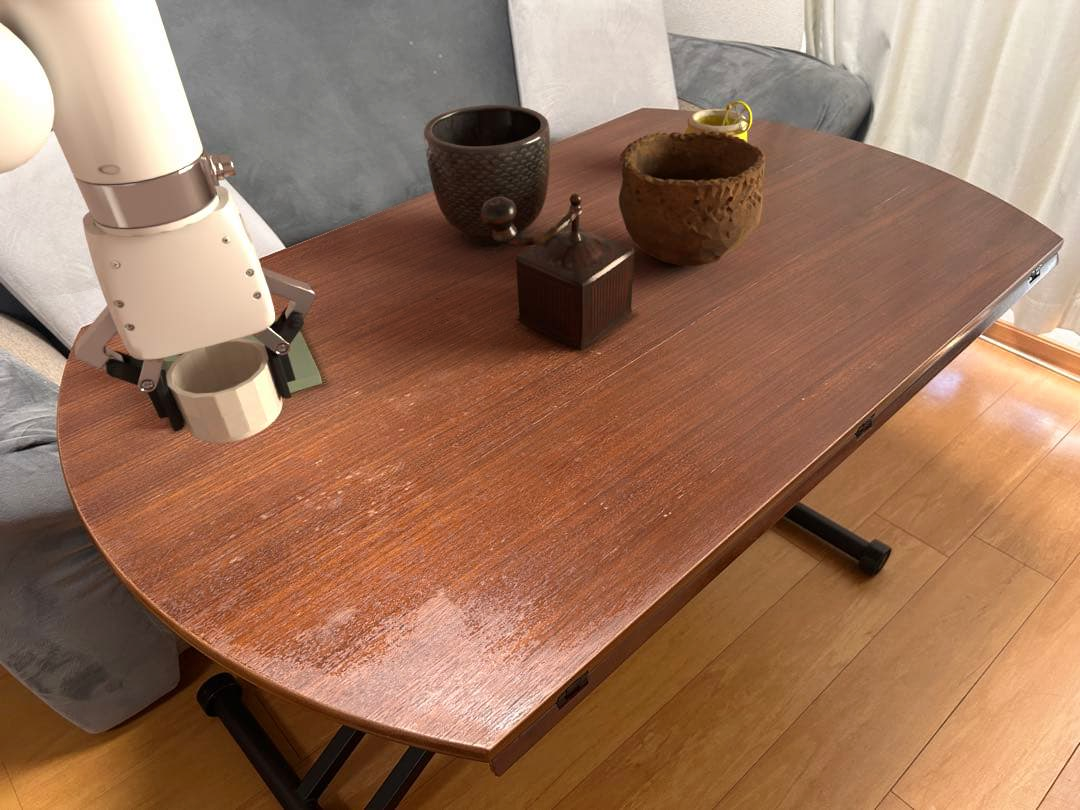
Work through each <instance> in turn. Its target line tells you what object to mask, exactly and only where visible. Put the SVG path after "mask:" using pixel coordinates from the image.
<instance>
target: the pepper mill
mask: <svg viewBox="0 0 1080 810" xmlns="http://www.w3.org/2000/svg"><path fill="white" fill-rule="evenodd" d="M569 202H570V205H569V208H568V212H567V213H566V214H565V216H564V217H563V218H561V220H560V221H559V222H558V223H556V224H555V225H554V226H553V227H551V228H550V229H549V230H546V231H545V232H543V233H541V234H539V235H536V236H532V237H523V236H521V237H519V236H516V234H517V229H516V227H515V226H514V225H513V224H512V221H513V220H514V218H515V215H516V206H515V204H514V202H513V201H512V200H510V199H507V198H505V197H493V198H491V199H489V200H488V201H486V202H485V203H484V205H483V208H482V210H481V214H480V216H481V219H482V221H483V222H484V223H485V224H487V225H488V226H489V227H491V228H492V229H493V234H492V237H493V238H494V239H495V241H498V242H507V241H508V242H510V243H509V244H515V245H518V246H522V247H529V248H527V249H524V250H523V251H521V252H520V253H518V254H516V255H515V259H514V260H515V270H516V271H515V272H516V287H517V301H518V302H517V303H518V304H517V305H518V318H517V321H518V322H519V323H521V324H523V325H524V326H526V328H528V329H530V330H532V331H534V332H536V333H538V334H540V335H542V336H544V337H546V338H549V339H550V340H553V341H555V342H557V343H559V344H561V345H564V346H566V347H567V346H568V347H570V348H573V349H575V350H579V351H583V350H585V349H587V348H588V347H591V346H593V345H594V344H595V343H597V342H598V341H599V340H600V339H602V338H604V337H605V336H607V334H609V332H611V331H613V330H614V329H615V328H617V326H619V325H620V324H621V323H622V322H623V321H624V320H626V319H627V318H628V317H629V316H630V315H632V310H633V309H632V300H633V299H632V298H633V283H634V260H635V249H634V248H633V247H631V246H628V245H626V244H623V243H621V242H618V241H615V240H613V239H609V238H606V237H603V236H601V235H598V234H596V233H593V232H591V231H588V230H585V229H582V228H580V214H581V213H582V212H583V208H582V205H581V203H582V197H581V195H580V194H579V193H577V192H576V193H572V194H571V195H570V197H569Z"/></svg>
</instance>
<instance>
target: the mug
mask: <svg viewBox="0 0 1080 810" xmlns="http://www.w3.org/2000/svg"><path fill="white" fill-rule="evenodd" d="M738 105H741V106H743V108H742V110H741V111H740V112H739V107H738ZM732 106H733V108H734V110H731V109H732ZM746 111H747V114H748V119H747V117H745V116H744V113H745V112H746ZM686 122H687V127H686V129H685V130H684V134H687V133H701V132H702V131H709V132H718V133H724V132H725V133H726V134H727V135H732V134H733V136H734V137H739V138H740V139H744V140H745V141H746V142H748V131H749V130H750V128H751V126H752V124H753V112H752V111H751V108H750V106H749V105H748V103H746V102H744V101H741V100H735V101H732V102H730V103H728V104H727V105H726V108H725V109H724V108H707V109H703V110H699V111H696V112H694V113H692V115H690V116H689V117H688V118H687V121H686Z"/></svg>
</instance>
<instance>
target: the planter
mask: <svg viewBox="0 0 1080 810" xmlns="http://www.w3.org/2000/svg"><path fill="white" fill-rule="evenodd" d="M550 128H551V127H550V124H549V120H548V119H547V118H546V117H545V116H544V115H543V114H542V113H541V112H538V111H536V110H534V109H530V108H527V107H523V106H517V105H511V104H509V105H508V104H480V105H472V106H471V105H470V106H466V107H460V108H455V109H452V110H450V111H446V112H443V113H440V114H439V115H437V116H435V117H433V118H431V120H429V121H428V122H427V123H426V125H425V126H424V128H423V142H424V147H425V155H426V162H427V167H428V168H427V169H428V172H429V178H430V181H431V185H432V189H433V194H434V197H435V199H436V202H437V205H438V208H439V209H440V211H441V213H442V215H443V216H444V218H445V219H446V221H447V222H448V223H449V224H450V225H451V226H452V227H453V228H455V230H457V231H459V232H460V233H462V234H463V235H464V237H465V238H466V239H467V240H469V241H470V242H471V243H473V244H476V245H479V246H486V247H497V246H503V245H508V244H511V243H510V242H508V241H507V242H498V241H495V239H494V238H493V237H492V234H493V229H492V228H491V227H489V226H488V225H487V224H485V223H484V222H483V221H482V219H481V216H480V214H481V210H482V208H483V205H484V203H485V202H486V201H488V200H489V199H491V198H493V197H505V198H507V199H510V200H512V201H513V202H514V204H515V206H516V215H515V218H514V220H513V221H512V224H513V225H514V226H515V227H516V229H517V234H516V236H519V237H523V235H524V234H525V232H526V230H527V229H528V228H529V227H530V226H531V225H533V223H535V221H536V220H537V219H538V218H539V215H540V214H541V212H542V210H543V208H544V206H545V203H546V198H547V194H548V189H549V178H550V166H551V165H550V163H551V131H550Z"/></svg>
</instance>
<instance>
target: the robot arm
mask: <svg viewBox="0 0 1080 810" xmlns="http://www.w3.org/2000/svg"><path fill="white" fill-rule="evenodd" d="M181 79H182V78H181V76H180V73H179V70H178V67H177V63H176V61H175V57H174V53H173V51H172V48H171V45H170V42H169V39H168V36H167V33H166V29H165V26H164V23H163V20H162V17H161V14H160V10H159V8H158V4H157V2H156V0H0V175H2V174H5V173H8V172H13V171H14V170H16V169H19V168H20V167H21V166H24V165H25V164H27V163H29V162H30V161H31V160H32V159H33V158H34V157H35V156H36V155H37V154H39V153H40V151H41V150H42V148H43V147H44V146H45V144H46V143H47V141H48V140H49V137H50V134H51V132H52V131H53V133H54V135H55V137H56V140H57V142H58V144H59V146H60V148H61V152H62V153H63V155H64V157H65V161H66V162H67V165H68V166H69V168H70V171H71V173H72V175H73V178H74V180H75V183H76V185H77V187H78V189H79V191H80V194H81V197H82V198H83V200H84V202H85V205H86V207H87V209H88V212H87V213H85V214H84V216H83V217H82V226H83V230H84V235H85V239H86V240H85V241H86V244H87V248H88V251H89V255H90V258H91V261H92V265H93V269H94V272H95V274H96V277H97V280H98V284H99V286H100V290H101V292H102V295H103V298H104V300H105V303H106V306H105V307H104V309H103V310H102V311H101V312H100V313H99V314H98V316H96V318H95V320H93V321H92V323H91V324H90V325H89V326H88V327H87V329H86V330H85V331H84V332H83V333H82V335H81V336H80V337H79V338H78V339H77V341H76V342H75V343H74V356H75V358H76V359H77V360H79V361H80V362H82V363H85V364H87V365H88V366H91V367H93V368H95V369H98V370H102V371H104V372H106V374H107V375H108V376H110V377H111V378H115V379H118V380H120V381H123V382H126V383H129V384H131V385H135V386H137V387H138V389H139V390H140V391H141V392H143V393H147V395H148V397H149V399H150V401H151V404H152V405H153V406H152V407H153V408H154V410H155V412H156V415H157V417H158V418H159V419H160V420H163V419H165V418H168V420H169V421H170V424H171V427H172V430H174V432H179V431H182V430H183V428H186V426H185V425H184V422H183V420H182V417H181V415H180V413H179V411H178V408H177V406H176V404H175V401H174V399H173V397H172V395H171V392H170V390H169V388H168V386H167V379H166V374H167V373H166V371H165V369H163V370H162V365H163V361H164V358H166V357H171V356H174V355H178V354H182V353H186V352H190V351H194V350H198V349H202V348H205V347H209V346H213V345H217V344H220V343H224V342H228V341H232V340H235V339H239V338H243V337H246V336H250V335H253V336H254V337H256V338H257V339H258V340H259V341H261V342H262V343H263V344H264V345H265V348H266V351H267V354H268V356H269V359H270V363H271V366H272V369H273V372H274V375H275V378H276V381H277V384H278V387H279V390H280V393H281V396H282V399H285V400H288V399H291V398H293V396H292V393H290V390H289V387H288V384H287V383H288V382H291V381H295V380H296V379H295V375H294V372H293V369H292V366H291V362H290V359H289V356H288V352H289V351H290V344H291V342H292V341H293V340H294V338H295V337H296V335H297V334H298V332H299V331H301V330H302V328H303V326H304V325H305V319H306V317H307V316H308V315H309V313H310V311H311V309H312V307H313V305H314V303H315V301H316V299H317V294H316V292H315V290H314V288H313V286H312V285H311V284H310V283H306V282H304V281H301V280H299V279H295V278H293V277H290V276H287V275H285V274H281V273H279V272H276V271H273V270H271V269H268V268H265V267H262V266H261V261H260V259H259V256H258V253H257V252H256V249H255V246H254V243H253V240H252V237H251V234H250V232H249V229H248V228H247V225H246V222H245V221H244V218H243V216H242V214H241V212H240V210H239V208H238V206H237V204H236V202H235V200H234V199H233V197H232V195H231V192H229V190H228V188H226V187H225V186H223V185H220V182H219V181H225V180H226V179H225V178H229V177H234V176H236V171H235V168H234V165H233V161H232V158H231V155H230V154H228V153H227V154H224V155H219V156H218V154H217V153H216V154H210V151H209V150H206V151H204V147H203V144H202V141H201V138H200V134H199V132H198V128H197V126H196V122H195V119H194V116H193V113H192V110H191V107H190V104H189V100H188V98H187V94H186V91H185V88H184V86H183V82H182V80H181ZM271 294H272V295H274V296H278V297H281V298H283V299H287V300H288V301H289V302H288V305H287V306H286V307H285V308H284V309H283V310H282V312H281V314H280V315H279V317H278V318H277V319H278V320H277V321H275V319H276V313H275V307H274V303H273V299H272V295H271ZM117 333H118V336H119V338H120V339H121V343H122V344H123V346H124V348H125V350H126V352H127V353H128V354H127V353H126V352H125V353H124V352H122V351H118V350H112V349H111V348H110V347H109V346H107V345H108V344H109V343H110V342H111V340H112V339H113V338H114V337H115V335H116V334H117Z"/></svg>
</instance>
